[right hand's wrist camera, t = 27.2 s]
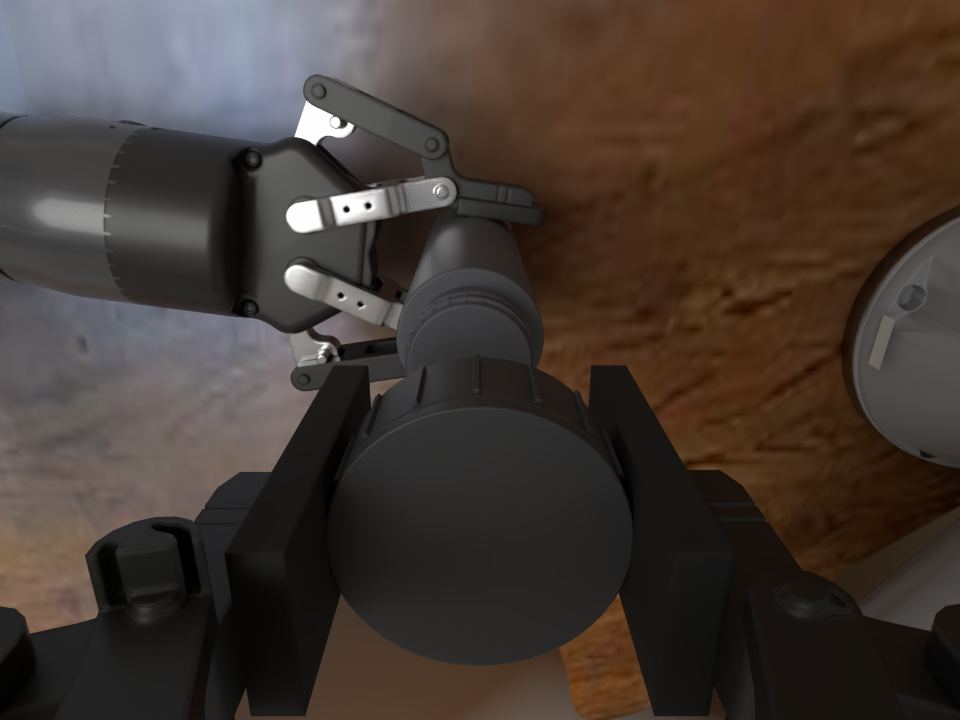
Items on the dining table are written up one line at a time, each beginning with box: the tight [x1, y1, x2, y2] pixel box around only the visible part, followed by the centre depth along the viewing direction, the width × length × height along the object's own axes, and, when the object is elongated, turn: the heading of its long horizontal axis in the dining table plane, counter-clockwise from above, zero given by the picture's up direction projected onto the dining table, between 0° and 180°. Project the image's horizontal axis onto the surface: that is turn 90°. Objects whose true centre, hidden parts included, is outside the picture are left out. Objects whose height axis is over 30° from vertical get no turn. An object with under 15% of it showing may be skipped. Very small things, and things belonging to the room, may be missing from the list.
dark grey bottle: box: [396, 207, 544, 377], centre depth 26 cm, size 4×4×19 cm
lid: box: [326, 354, 633, 666], centre depth 11 cm, size 5×5×2 cm
